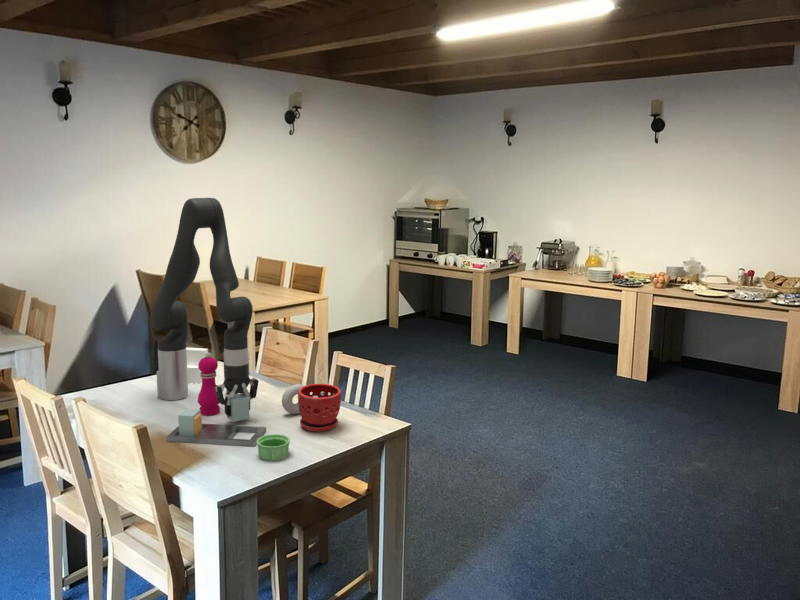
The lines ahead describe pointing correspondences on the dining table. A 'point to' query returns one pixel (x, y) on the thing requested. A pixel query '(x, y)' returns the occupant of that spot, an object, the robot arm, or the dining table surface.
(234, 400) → the grey-green block
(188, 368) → the base with upright slab
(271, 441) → the ramekin
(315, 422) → the plant pot
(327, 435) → the dining table surface
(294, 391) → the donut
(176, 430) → the grey rectangular tray
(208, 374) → the pepper mill
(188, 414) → the sage green block
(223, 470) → the dining table surface
